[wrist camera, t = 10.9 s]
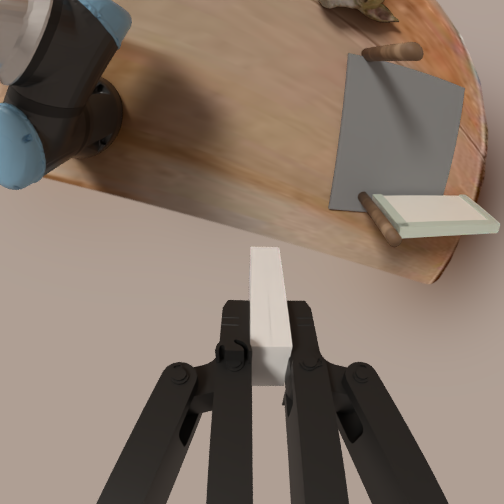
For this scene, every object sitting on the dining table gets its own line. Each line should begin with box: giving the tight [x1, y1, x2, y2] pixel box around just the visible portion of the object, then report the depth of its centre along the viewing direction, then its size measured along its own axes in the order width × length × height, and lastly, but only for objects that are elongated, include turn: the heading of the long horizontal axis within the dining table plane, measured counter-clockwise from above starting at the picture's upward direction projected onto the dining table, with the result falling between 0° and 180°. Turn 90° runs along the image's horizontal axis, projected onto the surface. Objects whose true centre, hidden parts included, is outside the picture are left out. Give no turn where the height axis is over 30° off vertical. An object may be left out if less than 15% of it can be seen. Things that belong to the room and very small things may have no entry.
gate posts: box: [358, 42, 423, 247], centre depth 38 cm, size 2×28×16 cm, turn 3°
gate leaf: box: [372, 194, 500, 238], centre depth 45 cm, size 22×2×12 cm, turn 95°
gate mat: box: [328, 53, 465, 212], centre depth 46 cm, size 24×28×1 cm
